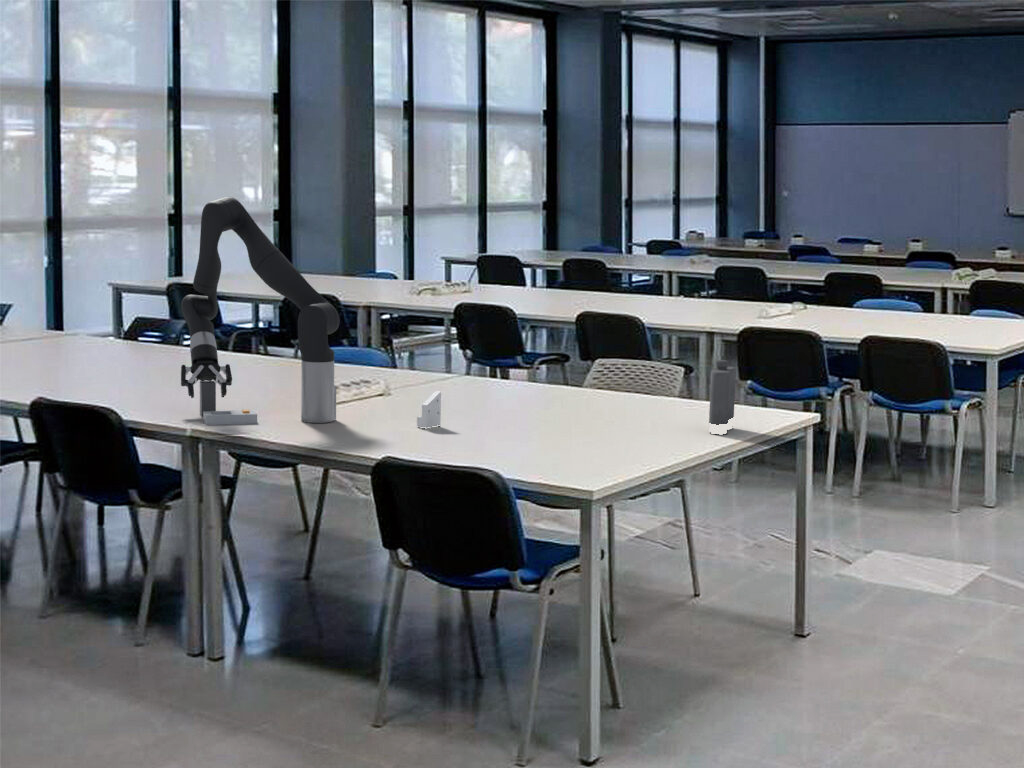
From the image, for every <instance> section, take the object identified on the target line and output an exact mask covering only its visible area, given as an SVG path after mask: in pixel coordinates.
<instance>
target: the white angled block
mask: <svg viewBox="0 0 1024 768" xmlns="http://www.w3.org/2000/svg"><path fill="white" fill-rule="evenodd" d="M441 408H442V391H441V390H436V391H434V393H433V394H431V395H430V396H429V397H428V398H426V400H425V401H424V402H423V403H422V405H421V415H418V416H417V417H416V427H417V426H418V427H426V428H427V427H432V426H437V425H440V426H441V421H442V419H441V417H442V416H441V415H442V413H441V411H442V409H441Z"/></svg>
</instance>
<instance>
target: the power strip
mask: <svg viewBox="0 0 1024 768" xmlns="http://www.w3.org/2000/svg"><path fill="white" fill-rule="evenodd" d="M202 418H203V422H204V424H205V425H207V426H209V425H241V424H242V425H244V424H245V425H247V424H248V425H249V424H258V413H257V412H256V410H254V409H252V410H250V409H241V410H216V411H203V417H202Z"/></svg>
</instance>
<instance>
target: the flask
mask: <svg viewBox="0 0 1024 768" xmlns="http://www.w3.org/2000/svg"><path fill="white" fill-rule="evenodd" d="M729 365H730V364H729V361H728V360H724V359H723V360H722V359H718V360H717V361H716V360H715V368H713V369H711V371H710V387H709V388H710V389H709V390H710V391H709V392H710V394H709V411H708V413H709V414H708V416H709V417H708V418H709V419H708V424H709V423H711V424H716V425H719V424H727V423H728V420H729V419H731V418H733V417H735V397H736V396H735V395H736V376H737V374H736V373H737V369H736V367H733V366H729Z"/></svg>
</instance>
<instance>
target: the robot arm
mask: <svg viewBox="0 0 1024 768" xmlns="http://www.w3.org/2000/svg"><path fill="white" fill-rule="evenodd" d="M230 230H232V231H233V232H234V233H235V234H236V235H237V237H239V238H240V240H242V241H243V243H244V245H245V247H246V250H247V254H248V255H247V256H248V260H249V264H250V266H251V268H252V270H253V271H254V273H256V275H257V276H258V277H259V278H260V279H261V280H262V281H263V283H264V284H265V285H267V287H269V288H270V289H272V290H273V291H274V292H276V293H278V294H279V295H281V296H282V297H284V298H286V299H288V300H289V301H290V302H292V303H293V304H294V305H295V306H296V307H297V308H298V309H299V310H300V311H299V314H298V318H297V336H298V337H297V341H298V349H299V353H300V356H301V363H300V364H301V366H300V367H301V372H300V373H301V375H300V377H301V382H300V383H301V389H300V391H301V393H300V394H301V397H300V398H301V402H300V403H301V404H300V405H301V406H300V411H301V412H300V413H301V414H300V416H301V417H300V420H301V422H304V423H310V424H323V423H324V424H325V423H331V422H334V421H335V420H337V387H336V386H335V350H333V349H332V348H331V347H330V346H329V337H328V335H331V334H334V333H335V332H336V331H338V329H339V326H340V323H341V319H340V314H339V312H338V311H337V309H336V307H335V306H333V304H331V302H330V301H328V300H327V299H326V298H324V296H322V295H321V294H320V292H318V291H317V290H316V289H315V288H314V287H313V286H312V285H311V284H310V283H309V282H308V280H306V279H305V277H304V276H303V275H302V274H301V273H300V272H299V271H298V269H296V267H295V266H294V265H293V264H292V262H290V260H289V259H288V258H287V257H286V256H285V255H284V253H283V252H282V251H280V249H279V248H278V247H277V246H276V245H275V244H274V243H273V242H272V240H270V239H269V237H268V236H267V235H266V234H265V232H263V230H262V229H261V227H259V225H258V224H257V223H256V222H255V220H254V219H253V217H252V216H251V215H250V213H249V212H248V210H247V209H246V208H245V207H244V205H243V204H242V203H241V202H240V201H239V200H238V199H237V198H234V197H233V196H232V197H231V196H225V197H221V198H218V199H215V200H211V201H209V202H207V203H205V205H204V206H203V209H202V212H201V221H200V233H199V234H200V238H199V253H198V261H197V265H196V269H195V273H194V277H193V282H192V286H193V289H194V290H195V291H197V292H198V293H200V294H201V295H199V294H187V295H185V296H184V297H183V298H182V301H181V304H180V305H181V306H180V308H181V314H182V316H183V318H184V321H185V322H186V325H187V328H188V329H189V337H190V339H189V340H190V342H189V352H190V361H191V362H190V363H191V366H186V365H185V364H182V365H181V366H180V367H181V368H180V387H187V392H188V393H187V395H188V397H190V398H191V399H194V397H195V390H194V389H195V388H194V385H196V383H198V381H214V382H215V383H216V384H217V385H219V386H220V394H221V395H220V396H221V398H225V396H227V391H228V389H227V386H228V387H229V386H232V384H233V382H232V381H233V377H232V370H231V365H230V364H228V363H227V364H225V365H224V366H221V365H220V364H219V357H218V348H217V341H216V338H215V336H216V335H215V328H214V327H215V326H214V324H213V322H212V320H213V319H214V318H216V316H217V314H218V312H219V306H218V297H217V296H218V285H219V282H220V278H221V277H220V276H221V272H222V261H221V258H220V254H219V249H218V248H219V247H218V246H219V241H220V238H221V236H222V234H223V233H224V232H227V231H230ZM202 294H203V295H202ZM220 372H222V373H223V375H225V377H226V378H224V377H223V376H222V374H221V373H220ZM189 373H191V374H192V375H191V377H190V378H189V379H187V378H186V377H187V375H189Z"/></svg>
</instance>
